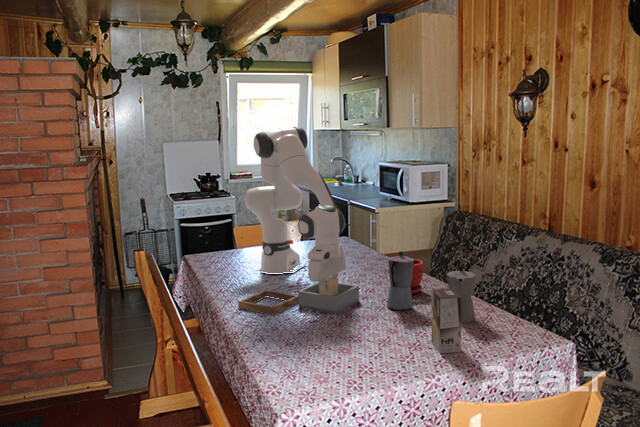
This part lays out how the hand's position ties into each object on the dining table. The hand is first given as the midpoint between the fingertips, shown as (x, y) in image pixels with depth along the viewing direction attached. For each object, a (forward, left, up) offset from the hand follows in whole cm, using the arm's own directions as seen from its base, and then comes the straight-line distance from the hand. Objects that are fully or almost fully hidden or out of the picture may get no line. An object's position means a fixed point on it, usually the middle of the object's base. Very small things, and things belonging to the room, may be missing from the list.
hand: (328, 287), depth 195 cm
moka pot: (-9, +24, -7) cm, 27 cm away
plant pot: (-28, +18, -7) cm, 34 cm away
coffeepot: (-9, +46, -7) cm, 47 cm away
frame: (+11, -19, -6) cm, 23 cm away
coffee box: (+17, +50, -7) cm, 53 cm away
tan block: (0, 0, -3) cm, 3 cm away
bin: (0, 0, -6) cm, 6 cm away
